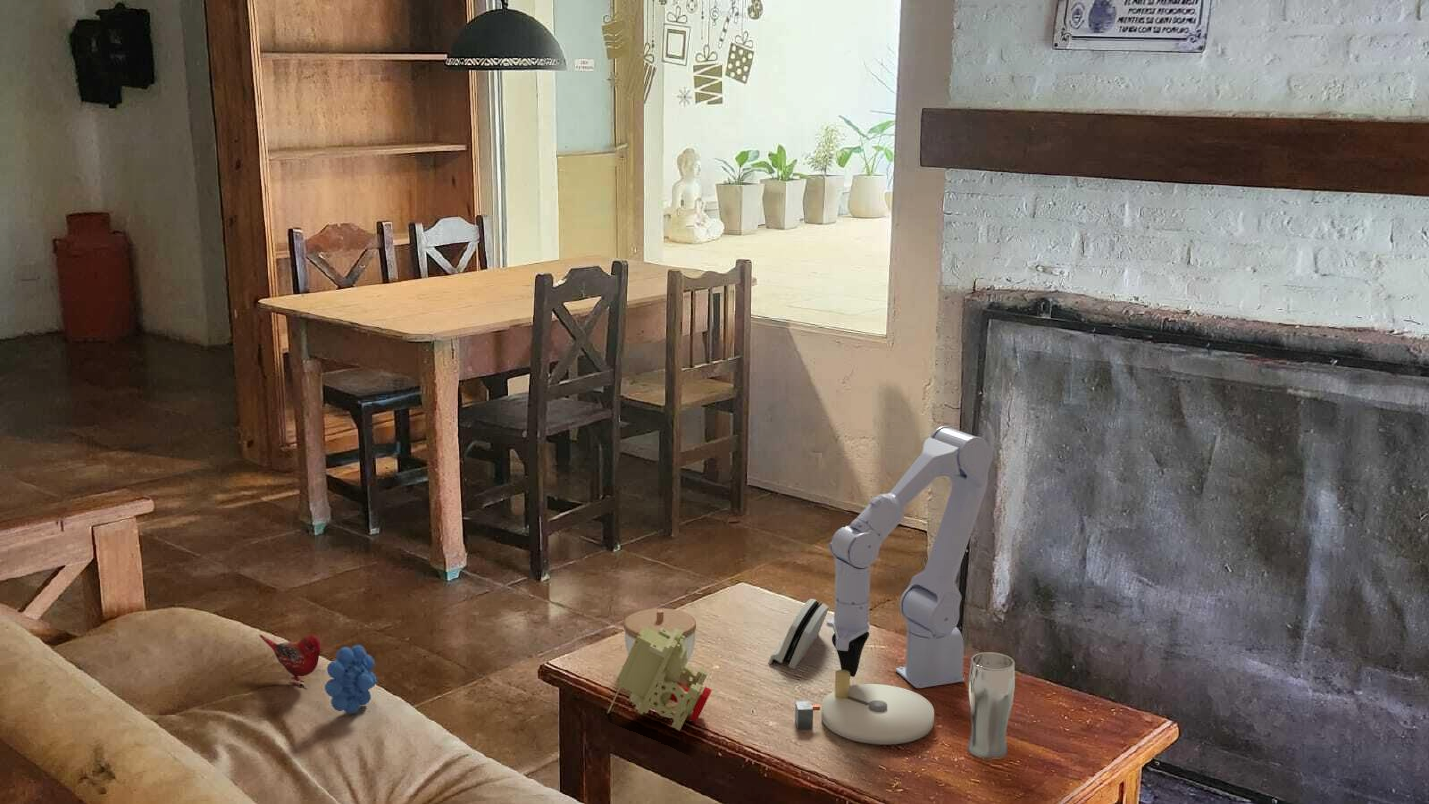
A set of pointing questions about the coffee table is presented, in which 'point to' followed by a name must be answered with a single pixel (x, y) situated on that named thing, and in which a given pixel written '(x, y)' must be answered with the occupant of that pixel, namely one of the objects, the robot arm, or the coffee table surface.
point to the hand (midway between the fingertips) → (849, 674)
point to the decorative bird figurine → (297, 655)
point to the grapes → (350, 679)
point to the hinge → (801, 633)
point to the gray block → (804, 714)
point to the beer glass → (990, 703)
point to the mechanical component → (662, 677)
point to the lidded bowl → (661, 625)
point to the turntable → (876, 712)
